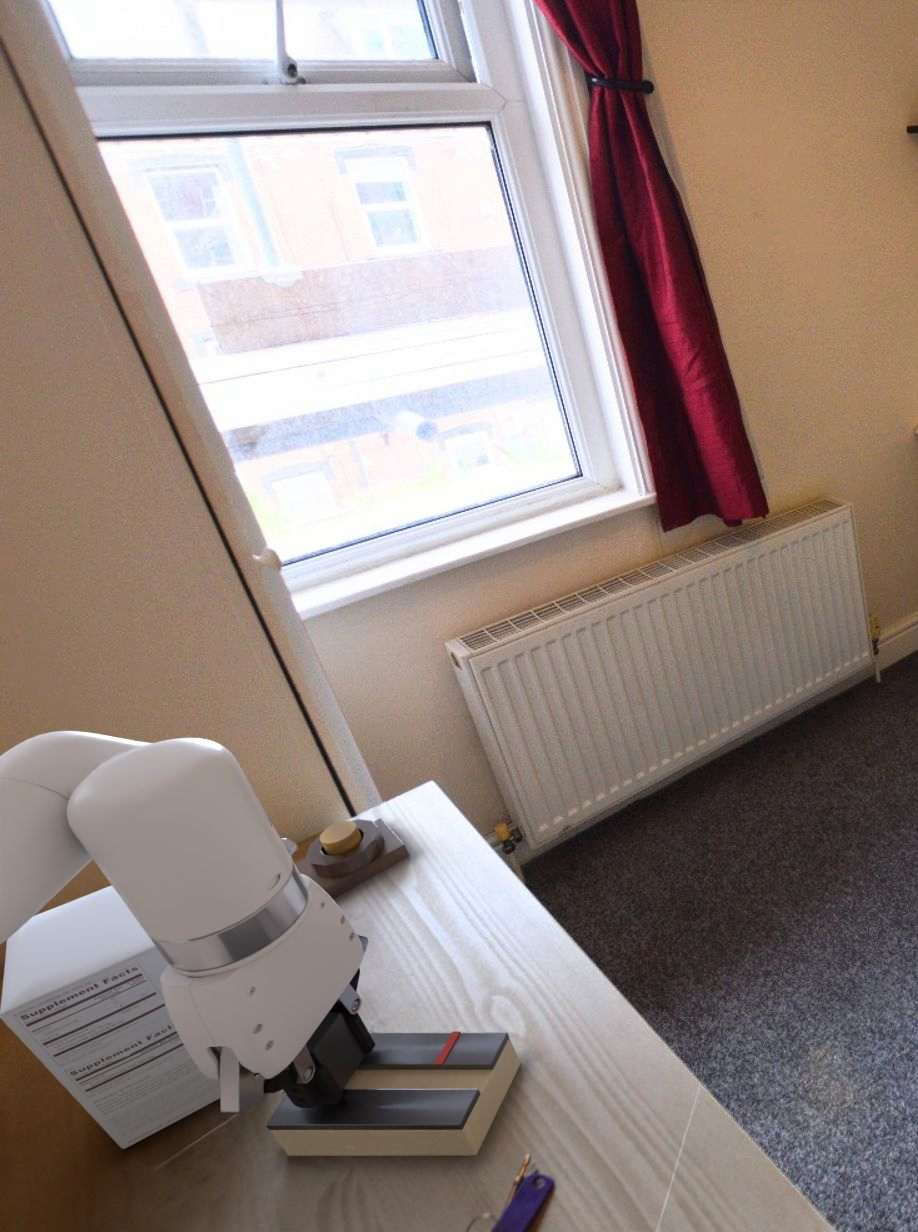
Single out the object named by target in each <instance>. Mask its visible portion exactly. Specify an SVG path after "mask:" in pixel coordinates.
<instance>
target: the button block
mask: <svg viewBox="0 0 918 1232" xmlns="http://www.w3.org/2000/svg"><path fill="white" fill-rule="evenodd" d="M351 821H352V822H354V823H355V824H356V826H357V828H358V830H359V832H360V834H361V836H362V840H361V842H360V843H359V844H358V845H357V846H356V847H355V848H353V849H351V850H349V851H347V852H345V853H342V854H338V855H334V856H331V855H328V854H327V853H326V851H325V849H324V847H323V845H322V843H321V842H320V835H319V836H318V837H316V838H315V839H314V840H313V841H312V842H311V843H310V844H309V845H308V848H307V851H306V854H305V857H303V858H302V859H300V860H297V861H296V862H294V863H295V865H296V867H297V868H298V870H299V872H300V874H303V875H306V876H308V877H309V878H311V879H312V880H313V881H314V882H316V883H317V884H318V885H319V886H320V887H321V888H322V889H323V890H325V891H326V892H327V893H328V895H329V896H330V897H331V898H332V899H333V900H334V899H336V898H338V897H340V896H342V895H343V894H345V893H347V892H348V891H351V890H352V889H354V888H356V887H358V886H359V885H361V884H363V883H365V882H367V881H368V880H370V879H372V878H374V877H375V876H377V875H378V874H381V873H383V872H384V871H386V870H387V869H389V868H391V867H393V866H395V865H396V864H398V863H400V862H401V861H404V860H406V859H407V858H410V856H411V855H410V853H409V851H408V848H407V846H406V844H405V843H404V842H403V841H402V840H401V838H400V837H399V836H398V835H397V833H395V832H394V830H393V829H392V828H391V827H390V826H389V825H388V824H387V823H386V822H385V820H384V819H383V818H382V817H379V818H377V819H375V820H369V819H359V818H358V819H354V820H351Z"/></svg>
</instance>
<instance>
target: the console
mask: <svg viewBox="0 0 918 1232" xmlns="http://www.w3.org/2000/svg"><path fill="white" fill-rule="evenodd" d="M368 1032H369V1034H370V1036H371V1037H372V1039H373V1041H374V1042H375V1047H374V1048H373V1050H372V1052H371V1053H368V1054H367V1055H365V1056H364V1058H363V1059H362V1061H361V1062H360V1064H359V1066H358V1067H357V1069H356V1070H355V1072H354V1073H353V1075H352V1076H351V1078H350V1079H349V1081H348V1083H347V1084H346V1086H345V1087H344V1089H343V1090H342V1091H343V1093H342V1094H343V1097H342V1098H341V1100H340V1101H339V1103H338V1104H317V1105H316V1106H315V1107H314V1108H299V1107H297V1106H295V1105H294V1104H293V1103H292V1102H291V1100H290V1099H289V1097H288V1096H287V1094H286V1095H285V1096H284V1098H283V1099H282V1100H281V1102H280V1104H279V1105H278V1107H276V1110H275V1111H274V1112H273V1114H272V1115H271V1116H270V1118H269V1119H268V1121H267V1122H266V1123H265V1127H266V1128H267V1129H268V1131H269V1132H270V1134H272V1136H273V1137H274V1139H275V1140H276V1141H277V1143H279V1145H280V1146H281V1148H282V1149H283V1151H284V1152H285V1153H286V1155H287V1156H288V1157H304V1156H305V1157H306V1156H307V1157H318V1156H319V1157H324V1156H325V1157H326V1156H328V1157H329V1156H331V1157H333V1156H336V1157H339V1156H340V1157H343V1156H351V1157H352V1156H353V1157H354V1156H355V1157H357V1156H359V1157H361V1156H363V1157H364V1156H365V1157H366V1156H369V1157H370V1156H371V1157H372V1156H375V1157H376V1156H378V1157H379V1156H382V1157H385V1156H390V1157H392V1156H393V1157H395V1156H397V1157H398V1156H400V1157H401V1156H407V1157H408V1156H410V1157H411V1156H413V1157H414V1156H418V1157H419V1156H420V1157H421V1156H434V1157H435V1156H477V1155H478V1153H479V1151H480V1148H481V1147H482V1145H483V1142H484V1140H485V1138H486V1137H487V1134H488V1132H489V1130H490V1128H491V1126H492V1124H493V1122H494V1120H495V1117H496V1116H497V1114H498V1111H499V1109H500V1108H501V1105H502V1103H503V1102H504V1099H505V1097H506V1095H507V1093H508V1091H509V1089H510V1086H511V1085H512V1083H513V1080H514V1079H515V1076H516V1074H517V1073H518V1071H519V1068H520V1066H521V1061H520V1058H519V1056H518V1054H517V1052H516V1049H515V1047H514V1045H513V1043H512V1040H511V1039H510V1035H509V1033H508V1032H507V1031H506V1032H505V1031H504V1032H500V1031H499V1032H493V1031H492V1032H488V1031H487V1032H484V1031H482V1032H481V1031H480V1032H478V1031H477V1032H475V1031H474V1032H473V1031H472V1032H471V1031H467V1032H466V1031H465V1032H461V1031H458V1030H456V1031H452V1032H451V1031H450V1032H448V1031H447V1032H445V1031H444V1032H443V1031H442V1032H441V1031H440V1032H437V1031H436V1032H435V1031H434V1032H432V1031H431V1032H429V1031H428V1032H427V1031H425V1032H424V1031H423V1032H419V1031H417V1032H414V1031H413V1032H411V1031H410V1032H409V1031H407V1032H406V1031H405V1032H403V1031H402V1032H399V1031H398V1032H397V1031H396V1032H394V1031H393V1032H392V1031H391V1032H388V1031H387V1032H386V1031H385V1032H381V1031H380V1032H379V1031H378V1032H375V1031H374V1032H373V1031H372V1032H371V1031H368Z"/></svg>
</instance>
